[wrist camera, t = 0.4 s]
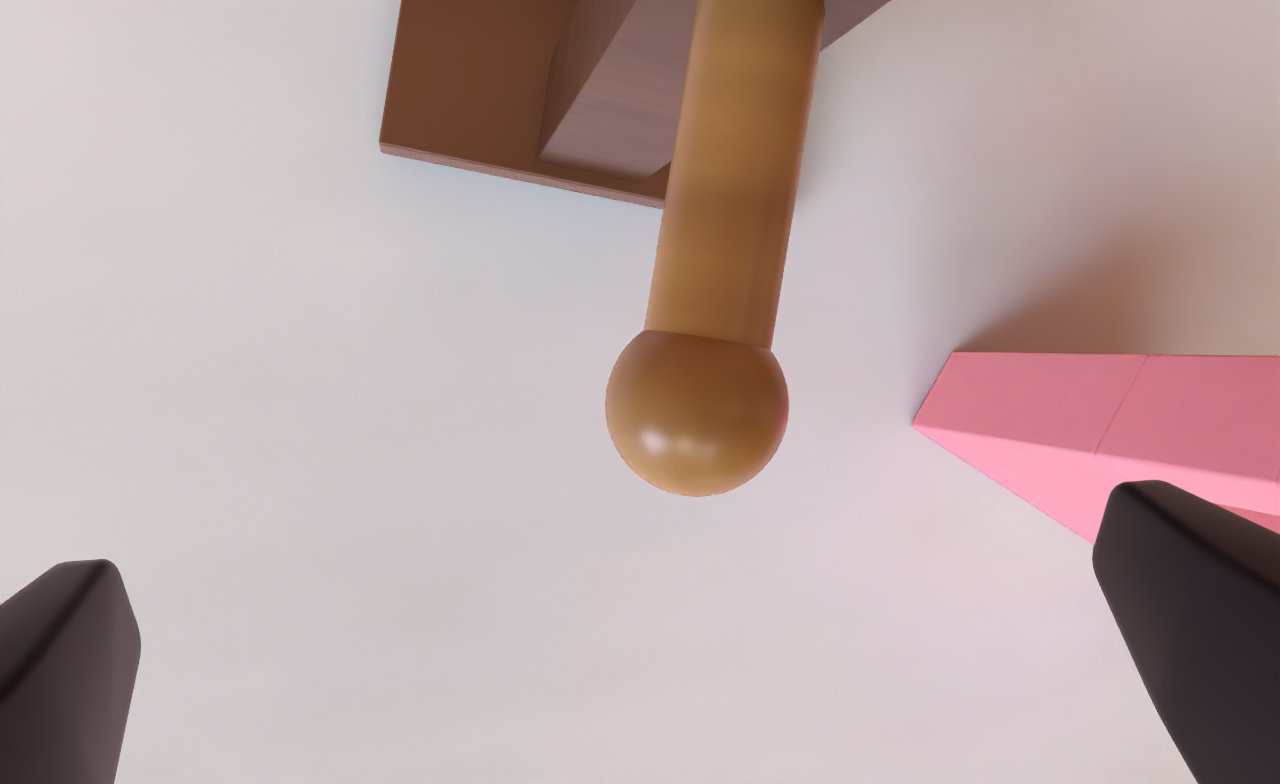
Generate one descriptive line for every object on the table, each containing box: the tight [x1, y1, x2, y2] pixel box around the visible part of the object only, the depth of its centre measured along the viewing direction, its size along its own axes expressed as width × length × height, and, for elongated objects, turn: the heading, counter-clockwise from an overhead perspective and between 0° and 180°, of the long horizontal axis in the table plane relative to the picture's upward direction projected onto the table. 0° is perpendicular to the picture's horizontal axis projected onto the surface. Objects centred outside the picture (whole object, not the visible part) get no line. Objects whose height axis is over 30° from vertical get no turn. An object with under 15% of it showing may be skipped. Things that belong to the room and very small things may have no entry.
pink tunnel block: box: [911, 352, 1280, 545], centre depth 20 cm, size 2×6×12 cm, turn 59°
